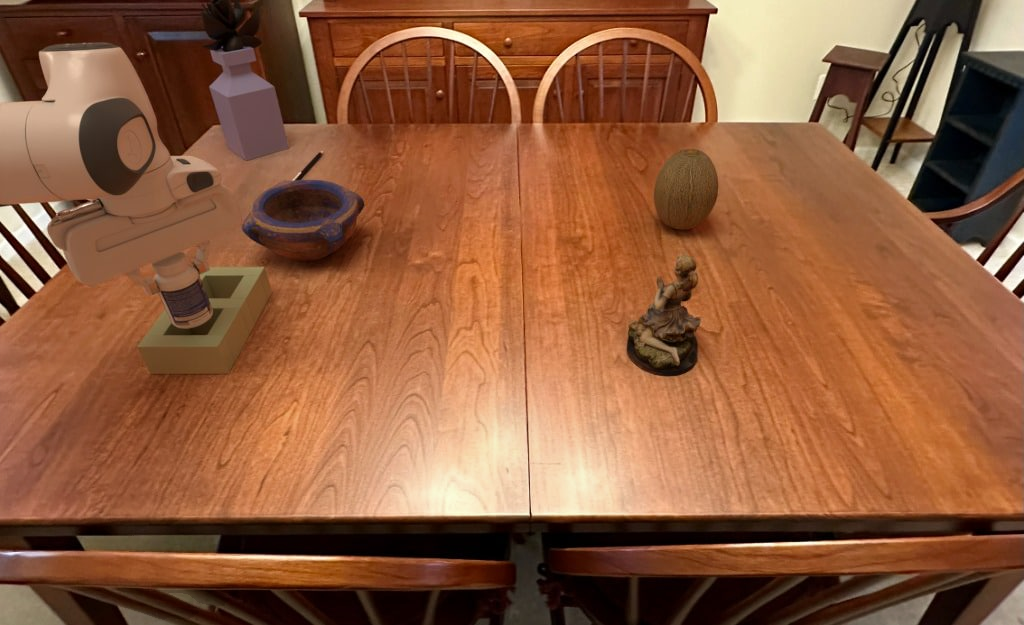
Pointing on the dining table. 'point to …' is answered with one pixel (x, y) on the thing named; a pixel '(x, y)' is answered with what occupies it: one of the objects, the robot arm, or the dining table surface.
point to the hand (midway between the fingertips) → (178, 281)
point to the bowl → (303, 218)
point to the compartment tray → (210, 325)
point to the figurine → (667, 326)
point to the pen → (308, 166)
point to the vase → (242, 83)
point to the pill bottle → (182, 291)
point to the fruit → (686, 189)
